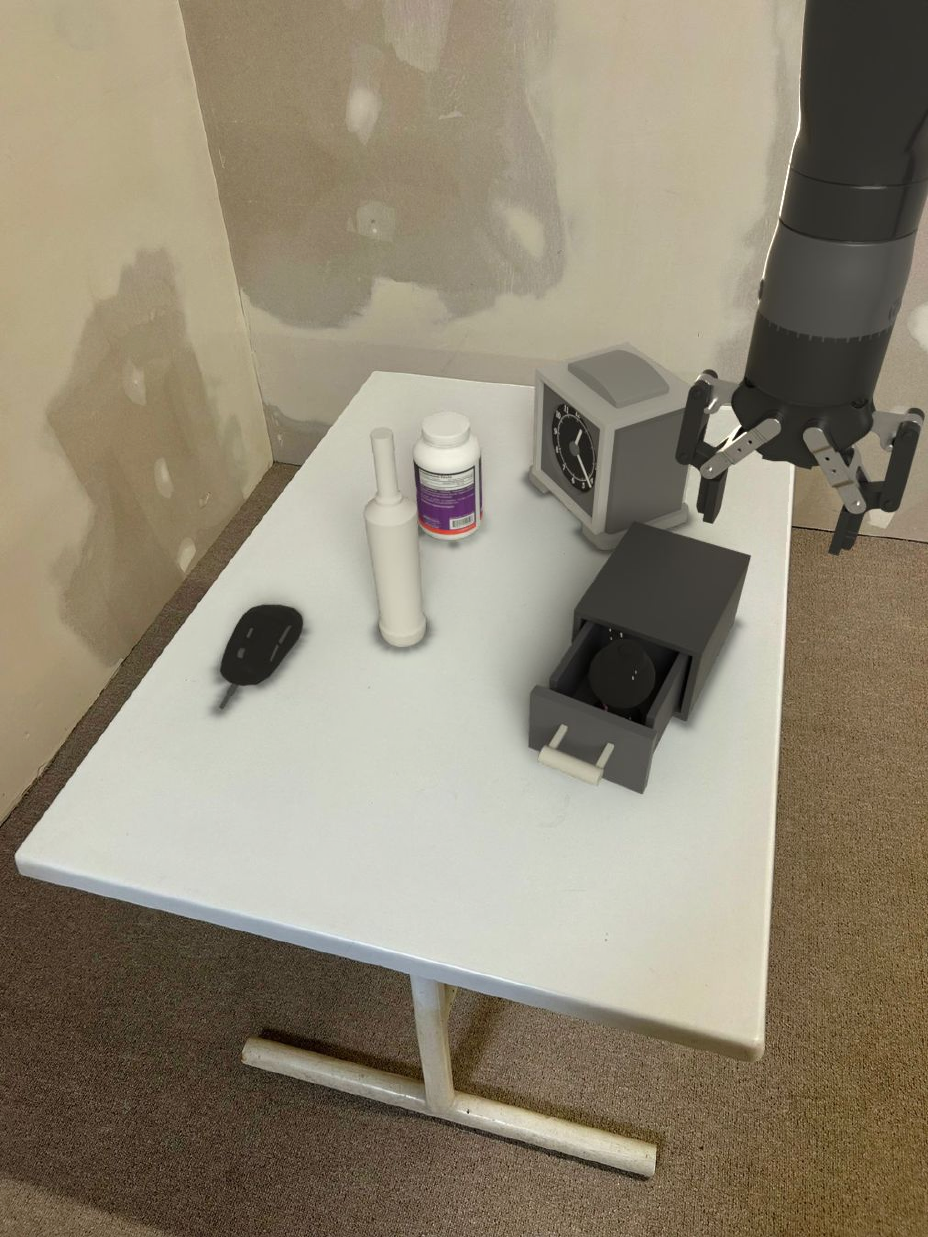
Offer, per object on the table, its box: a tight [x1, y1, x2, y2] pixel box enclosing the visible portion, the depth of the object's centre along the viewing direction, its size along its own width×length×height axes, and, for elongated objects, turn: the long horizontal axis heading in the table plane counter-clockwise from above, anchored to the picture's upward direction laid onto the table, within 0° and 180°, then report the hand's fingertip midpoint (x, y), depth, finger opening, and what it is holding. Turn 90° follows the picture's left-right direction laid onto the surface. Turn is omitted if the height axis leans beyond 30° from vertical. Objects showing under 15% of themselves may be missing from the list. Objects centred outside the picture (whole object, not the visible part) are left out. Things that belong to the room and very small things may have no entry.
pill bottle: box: [412, 411, 484, 541], centre depth 103 cm, size 8×8×14 cm
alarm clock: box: [528, 341, 692, 551], centre depth 105 cm, size 18×13×18 cm
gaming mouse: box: [219, 603, 304, 710], centre depth 91 cm, size 6×15×4 cm, turn 161°
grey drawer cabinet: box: [570, 521, 752, 722], centre depth 88 cm, size 16×13×10 cm
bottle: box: [362, 426, 427, 648], centre depth 86 cm, size 5×5×25 cm
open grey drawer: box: [527, 620, 693, 795], centre depth 80 cm, size 19×11×8 cm, turn 151°
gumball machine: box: [588, 629, 655, 725], centre depth 79 cm, size 7×6×10 cm
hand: (771, 532), depth 60 cm, fingers open, 8 cm apart
